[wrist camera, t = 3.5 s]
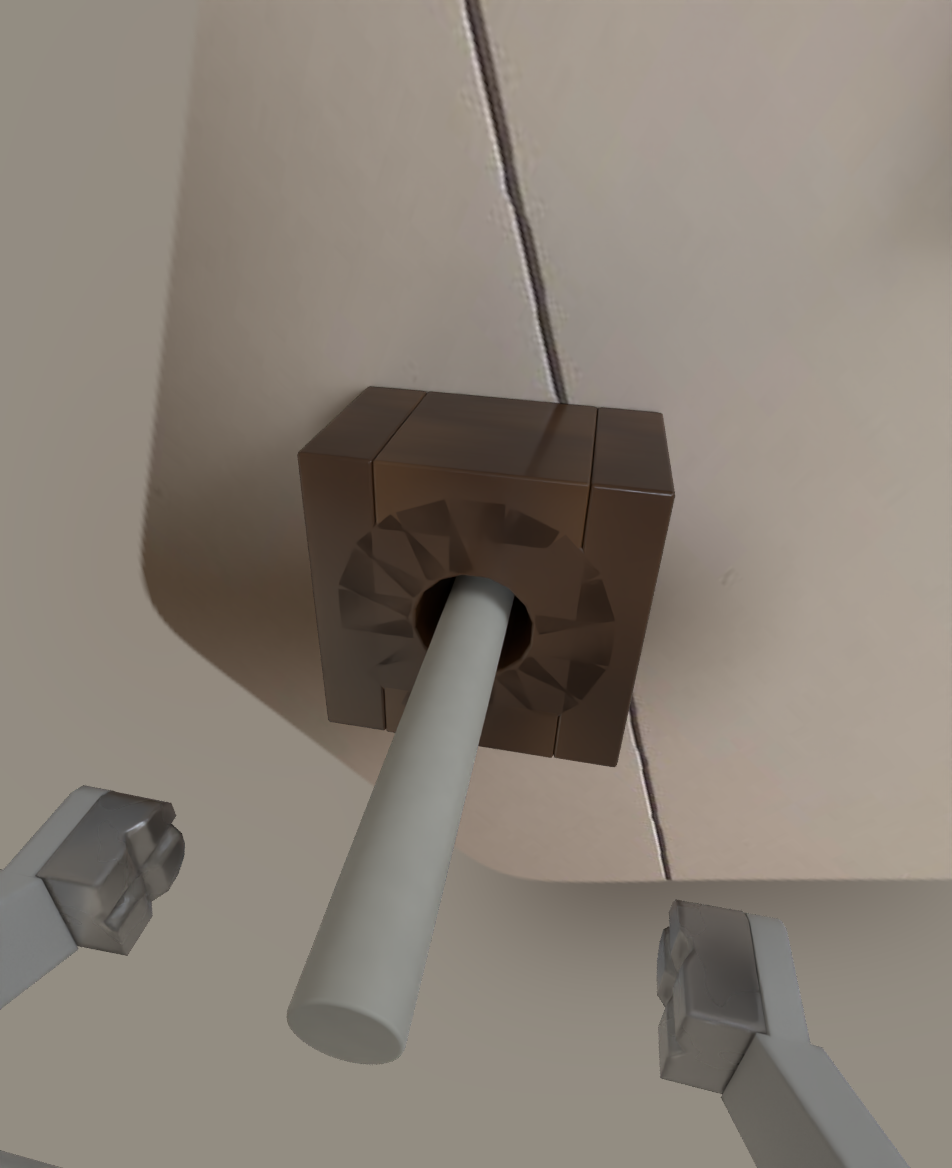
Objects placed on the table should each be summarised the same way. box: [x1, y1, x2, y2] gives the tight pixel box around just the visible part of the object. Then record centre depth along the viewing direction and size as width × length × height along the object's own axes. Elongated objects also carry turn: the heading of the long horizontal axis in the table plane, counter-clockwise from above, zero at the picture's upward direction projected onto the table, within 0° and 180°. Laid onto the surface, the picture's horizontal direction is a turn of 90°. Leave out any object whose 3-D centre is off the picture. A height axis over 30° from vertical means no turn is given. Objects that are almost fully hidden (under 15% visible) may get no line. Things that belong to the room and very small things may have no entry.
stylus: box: [287, 575, 515, 1064], centre depth 14 cm, size 2×2×14 cm
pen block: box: [297, 387, 675, 767], centre depth 18 cm, size 8×8×5 cm
